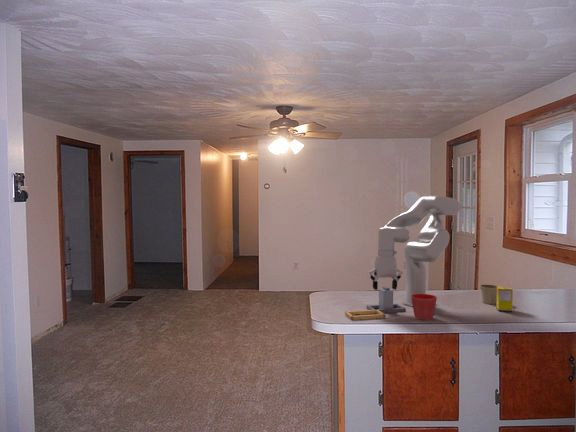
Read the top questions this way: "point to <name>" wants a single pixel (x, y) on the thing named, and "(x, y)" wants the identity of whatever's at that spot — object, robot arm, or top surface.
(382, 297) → the plug
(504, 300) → the supplement box
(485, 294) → the flower pot
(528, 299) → the top surface
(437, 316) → the top surface
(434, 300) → the flower pot
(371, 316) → the tan grey double frame
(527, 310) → the top surface
